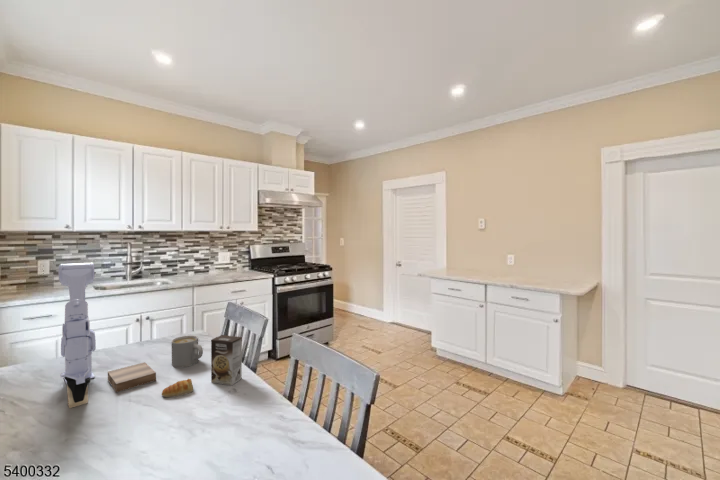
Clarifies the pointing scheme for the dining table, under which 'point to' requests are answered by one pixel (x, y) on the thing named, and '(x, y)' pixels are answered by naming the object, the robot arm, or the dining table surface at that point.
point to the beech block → (71, 401)
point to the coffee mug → (185, 351)
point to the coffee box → (226, 359)
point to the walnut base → (131, 376)
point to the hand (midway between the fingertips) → (77, 398)
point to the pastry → (178, 388)
